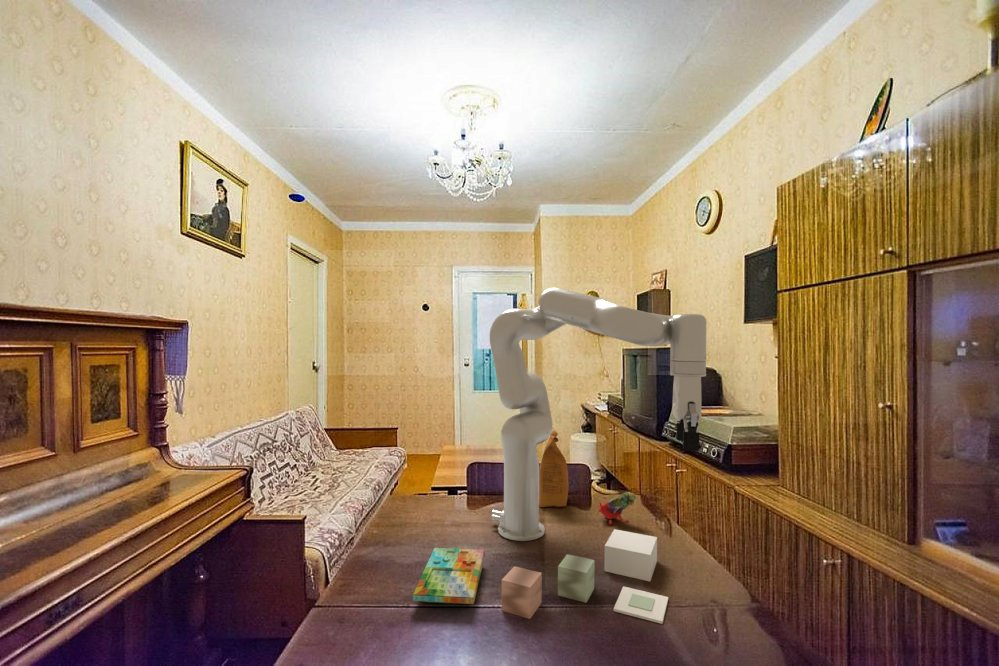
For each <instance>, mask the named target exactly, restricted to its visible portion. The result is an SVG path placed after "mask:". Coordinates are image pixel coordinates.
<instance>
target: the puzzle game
mask: <svg viewBox="0 0 999 666" xmlns="http://www.w3.org/2000/svg"><path fill="white" fill-rule="evenodd" d="M485 557H486V550H485V549H473V548H471V549H469V548H450V547H448V548H447V547H445V548H443V547H434V548H433V550H432V553H431V555H430V557H429V559H428V560H427V561H428V562H427V563H426V565H425V567H424V570H423V571H422V574H421V575H420V579H419V581H418V583H417V585H416V587H415V590H414V591H413V593H412V602H413V601H415V602H423V603H435V604H438V603H441V604H457V605H460V604H461V605H474V603H475V599H476V595H477V592H478V585H479V583H480V578H481V573H482V569H483V564H484V560H485Z"/></svg>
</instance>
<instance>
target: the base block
mask: <svg viewBox="0 0 999 666" xmlns="http://www.w3.org/2000/svg"><path fill="white" fill-rule="evenodd" d="M603 557H604V565H603V566H604V569H603V572H606V573H607V572H608V573H610V574H611V573H612V574H615V575H619V576H620V575H621V576H625V577H629V578H634V579H637V580H641V581H647V582H651V581H652V577H653V574H654V572H655V568H656V567H657V562H658V536H653V535H647V534H644V533H643V534H642V533H637V532H631V531H626V530H621V529H615V528H614V529H613V531H612V532H611V534H610V535H609V537H608V539H607V541H606V543H605V544H604V556H603Z"/></svg>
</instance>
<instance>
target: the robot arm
mask: <svg viewBox="0 0 999 666" xmlns="http://www.w3.org/2000/svg"><path fill="white" fill-rule="evenodd" d="M537 305H538V306H536V307H535V308H534V309H524V308H512V309H507V310H505V311H502V312H501V313H500V314H499V315H498V316H497V317H496V318H495V319H494V321H493V322H492V324H491V327H490V331H489V346H490V350H491V354H492V358H493V363H494V369H495V370H494V371H495V375H496V382H497V389H498V394H499V399H500V402H501V403H502V405H503V406H504V407H505V408H506V409H509V410H519V412H520V413H518V414H514V415H512V416H511V417H509V418H508V419H507V420H506V421H504V423H503V425H502V428H501V431H500V440H501V446H502V451H503V510H502V511H500V510H496V509H492V511H491V515H490V516H491V521H497V522H499V524H498V525H497V532H498V534H499V535H500V536H502V537H503V538H504V539H508V540H511V541H517V542H526V541H527V542H529V541H533V540H534V541H535V540H537V539H539V538H541V537H543V536H544V535H545V532H546V531H545V530H546V529H545V525H544V524H543V523H542V522H540V506H539V467H540V461H539V456H538V452H537V445H540V444H542V443H544V442H545V441H548V440H549V438H550V435H551V433H552V431H553V417H552V412H551V407H550V401H549V396H548V389H547V387H546V385H545V382H544V381H543V379H542V378H541V377H540V376H539V375H538V374H536V373H534V372H531V371H530V372H528V369H527V365H526V363H527V362H526V358H525V355H524V352H523V350H522V348H521V345H520V342H521V341H535V340H539V339H541V338H544V337H545V336H547V335H549V334H551V333H553V332H554V331H556V330H558V329H560V328H562V327H563V326H565V325H569V326H573V327H576V328H578V329H579V328H580V329H582V330H586V331H588V332H592V333H595V334H601V335H603V336H607V337H610V338H612V339H616V340H620V341H622V342H623V341H624V342H627V343H631V344H634V345H637V346H642V347H655V346H658V347H659V346H664V345H666V346H667V345H670V346H669V347H670V349H669V351H670V354H669V355H670V356H669V357H670V358H669V359H670V361H669V367H670V368H669V375H670V376H673V384H672V385H673V387H672V409H671V413H672V414H671V415H672V416H673V417H674V418H675V420H676V440H677V441H682V448H683V450H684V451H691V452H699V451H700V426H699V422H701V420H702V378H703V377H707V319H706V317H705V316H704V315H703V314H700V313H679V314H675V315H674V314H673V315H665V314H660V313H653V312H647V311H643V310H638V309H634V308H630V307H627V306H623V305H619V304H617V303H616V304H615V303H612V302H610V301H608V300H606V299H604V298H601V297H598V296H593V295H590V294H589V295H588V294H584V293H580V292H577V291H573V290H569V289H565V288H561V287H549V288H546V289H545V290H544V291H543V292H542V293H541V294H540V296H539V298H538V301H537Z"/></svg>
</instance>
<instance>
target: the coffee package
mask: <svg viewBox="0 0 999 666" xmlns="http://www.w3.org/2000/svg"><path fill="white" fill-rule="evenodd" d="M557 436H559V433H558V432H557V431H556V429H552V433H551V435H550V437H549V438H548V439H547V443H546V445H545V448H544V450H543V454H542V456H541V457H542V458H541V461H540V462H539V508H540V507H541V508H546V507H558V508H560V507H561V508H562V507H566V506H567V502H568V495H569V481H570V480H569V479H570V478H569V472H568V471H569V470H568V465H567V460H566V458H565V456H564V455H563V452H562V451H561V449H560V448H559V447H558V445H557V443H558V442H559V439H558V437H557Z"/></svg>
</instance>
